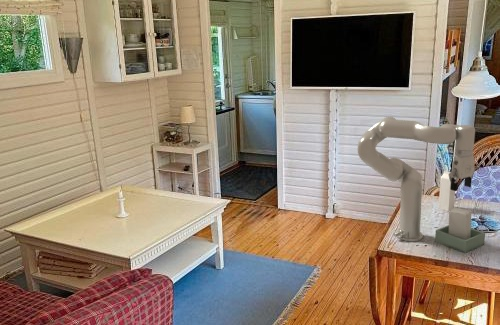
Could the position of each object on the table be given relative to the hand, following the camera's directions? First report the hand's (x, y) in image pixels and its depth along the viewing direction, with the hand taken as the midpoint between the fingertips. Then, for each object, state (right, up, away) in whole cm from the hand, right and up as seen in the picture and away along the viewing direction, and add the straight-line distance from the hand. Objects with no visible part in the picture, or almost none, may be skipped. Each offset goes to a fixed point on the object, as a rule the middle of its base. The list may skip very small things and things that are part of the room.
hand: (460, 188), depth 207 cm
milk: (+14, -15, +47) cm, 51 cm away
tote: (+2, -26, +5) cm, 27 cm away
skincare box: (+1, -26, +4) cm, 26 cm away
